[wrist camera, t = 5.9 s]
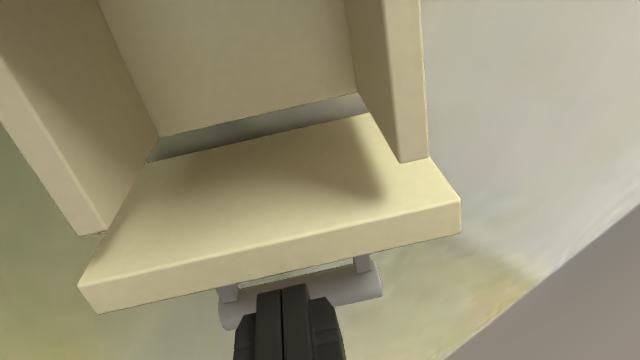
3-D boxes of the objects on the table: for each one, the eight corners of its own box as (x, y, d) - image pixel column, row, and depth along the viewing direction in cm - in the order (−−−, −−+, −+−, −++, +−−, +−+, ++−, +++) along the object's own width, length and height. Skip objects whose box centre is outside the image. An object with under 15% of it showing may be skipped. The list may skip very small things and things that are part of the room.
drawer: (404, 212, 19) (463, 332, 13) (192, 261, 19) (158, 400, 13) (349, -304, 10) (453, -622, 4) (-42, -209, 10) (-438, -395, 5)
